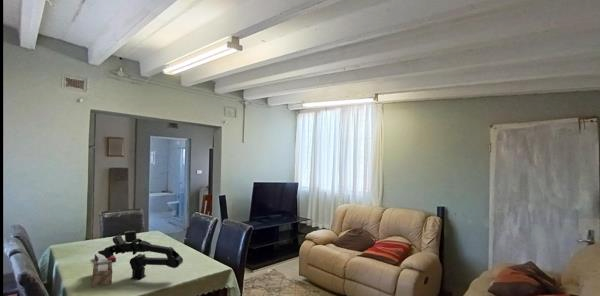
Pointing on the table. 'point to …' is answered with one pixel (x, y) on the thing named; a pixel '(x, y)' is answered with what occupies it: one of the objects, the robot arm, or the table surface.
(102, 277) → the brown rectangular box
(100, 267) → the cream button
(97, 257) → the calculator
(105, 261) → the grey button
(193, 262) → the table surface
